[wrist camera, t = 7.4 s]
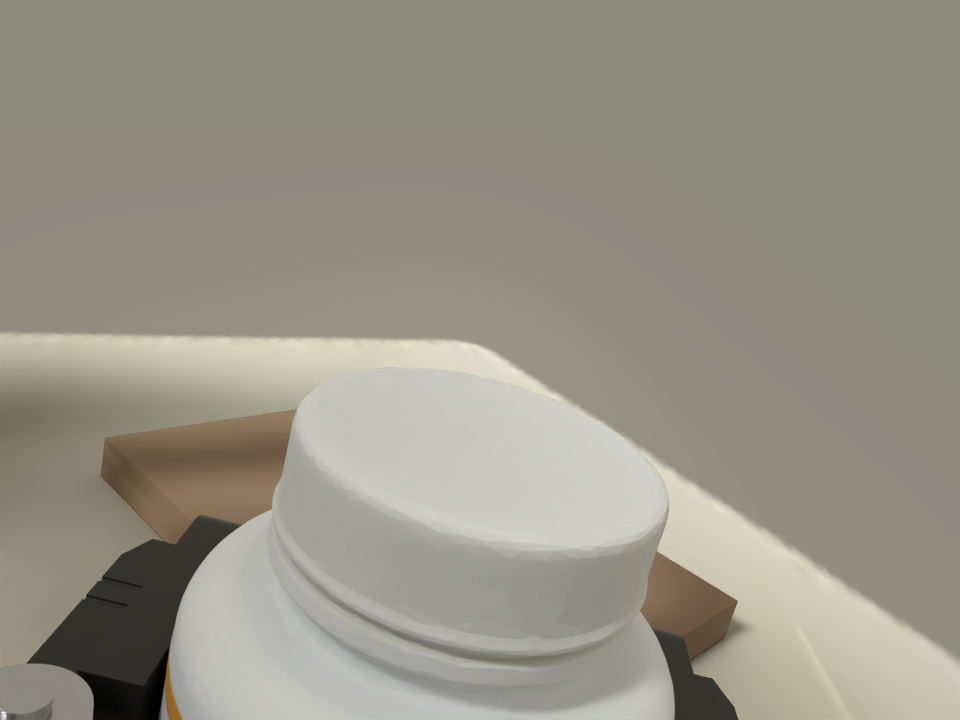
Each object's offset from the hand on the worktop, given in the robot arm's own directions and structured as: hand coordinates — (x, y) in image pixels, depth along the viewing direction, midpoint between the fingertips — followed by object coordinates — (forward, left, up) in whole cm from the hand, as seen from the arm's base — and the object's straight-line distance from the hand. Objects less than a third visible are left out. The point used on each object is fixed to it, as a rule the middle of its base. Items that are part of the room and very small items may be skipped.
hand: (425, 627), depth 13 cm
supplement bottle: (+2, -2, -6) cm, 7 cm away
